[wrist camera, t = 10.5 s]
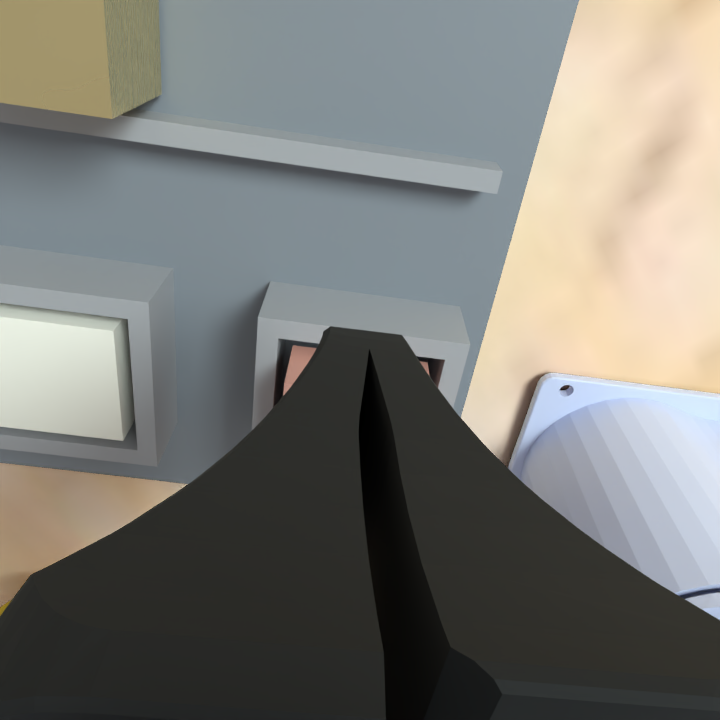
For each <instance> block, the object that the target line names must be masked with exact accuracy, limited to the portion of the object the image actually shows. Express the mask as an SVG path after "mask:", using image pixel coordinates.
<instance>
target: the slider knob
mask: <svg viewBox="0 0 720 720" xmlns="http://www.w3.org/2000/svg"><path fill="white" fill-rule="evenodd" d="M161 94H162V90H161V60H160V30H159V0H0V103H6V104H13V105H20V106H26V107H33V108H40V109H47V110H54V111H61V112H67V113H74V114H81V115H88V116H95V117H101V118H108V119H113V118H115V117H117V116H119V115H121V114H123V113H125V112H127V111H129V110H131V109H133V108H135V107H137V106H139V105H141V104H143V103H145V102H147V101H149V100H151V99H153V98H155V97H157V96H159V95H161Z"/></svg>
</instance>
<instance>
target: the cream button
mask: <svg viewBox="0 0 720 720" xmlns="http://www.w3.org/2000/svg"><path fill="white" fill-rule="evenodd" d="M134 420H135V409H134V396H133V383H132V369H131V356H130V342H129V329H128V319H123V318H115V317H107V316H100V315H92V314H84V313H76V312H68V311H61V310H53V309H45V308H37V307H29V306H22V305H14V304H6V303H0V427H8V428H17V429H25V430H34V431H42V432H51V433H59V434H68V435H76V436H85V437H94V438H102V439H111V440H119V441H123V440H124V439H125V437H126V435H127V433H128V431H129V430H130V428H131V426H132V424H133V422H134Z"/></svg>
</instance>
